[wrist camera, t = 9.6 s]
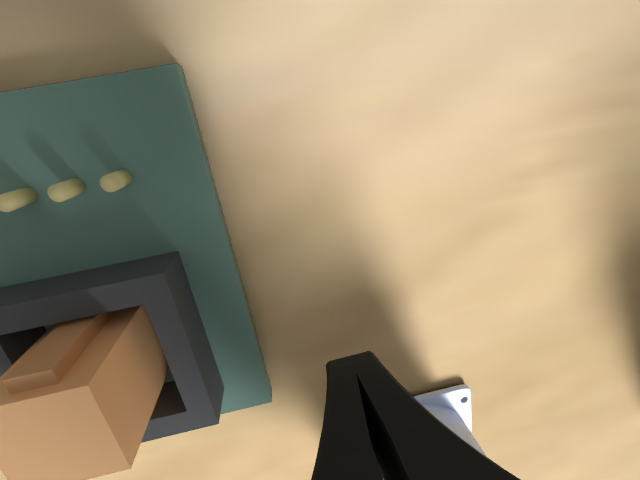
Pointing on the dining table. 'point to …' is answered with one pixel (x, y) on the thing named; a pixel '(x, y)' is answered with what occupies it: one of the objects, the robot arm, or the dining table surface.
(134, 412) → the plug
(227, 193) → the dining table surface
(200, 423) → the header board
